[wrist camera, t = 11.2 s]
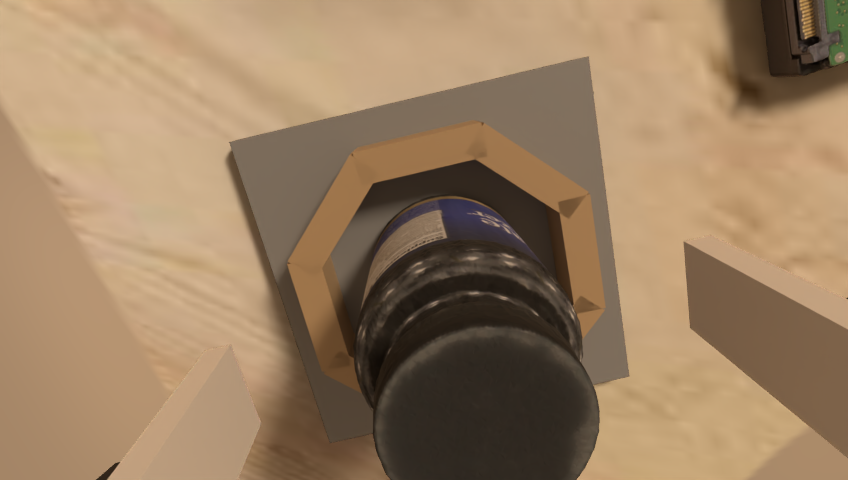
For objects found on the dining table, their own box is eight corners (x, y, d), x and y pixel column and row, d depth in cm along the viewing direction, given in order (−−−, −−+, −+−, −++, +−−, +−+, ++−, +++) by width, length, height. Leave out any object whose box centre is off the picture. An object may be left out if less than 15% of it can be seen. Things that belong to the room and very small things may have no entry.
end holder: (236, 140, 20) (209, 146, 17) (581, 58, 19) (609, 51, 17) (332, 431, 24) (323, 474, 21) (621, 367, 23) (650, 402, 21)
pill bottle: (546, 273, 21) (694, 448, 10) (434, 357, 22) (463, 598, 11) (457, 159, 20) (521, 226, 9) (340, 254, 20) (271, 419, 10)
